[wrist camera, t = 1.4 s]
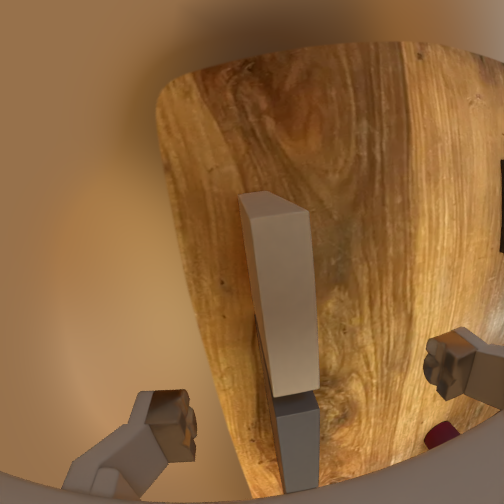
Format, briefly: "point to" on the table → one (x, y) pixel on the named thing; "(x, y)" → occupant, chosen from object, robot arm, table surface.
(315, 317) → the brown flat block
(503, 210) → the book rack
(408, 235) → the table surface
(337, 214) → the table surface
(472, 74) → the table surface
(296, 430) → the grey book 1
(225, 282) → the table surface
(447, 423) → the cup
